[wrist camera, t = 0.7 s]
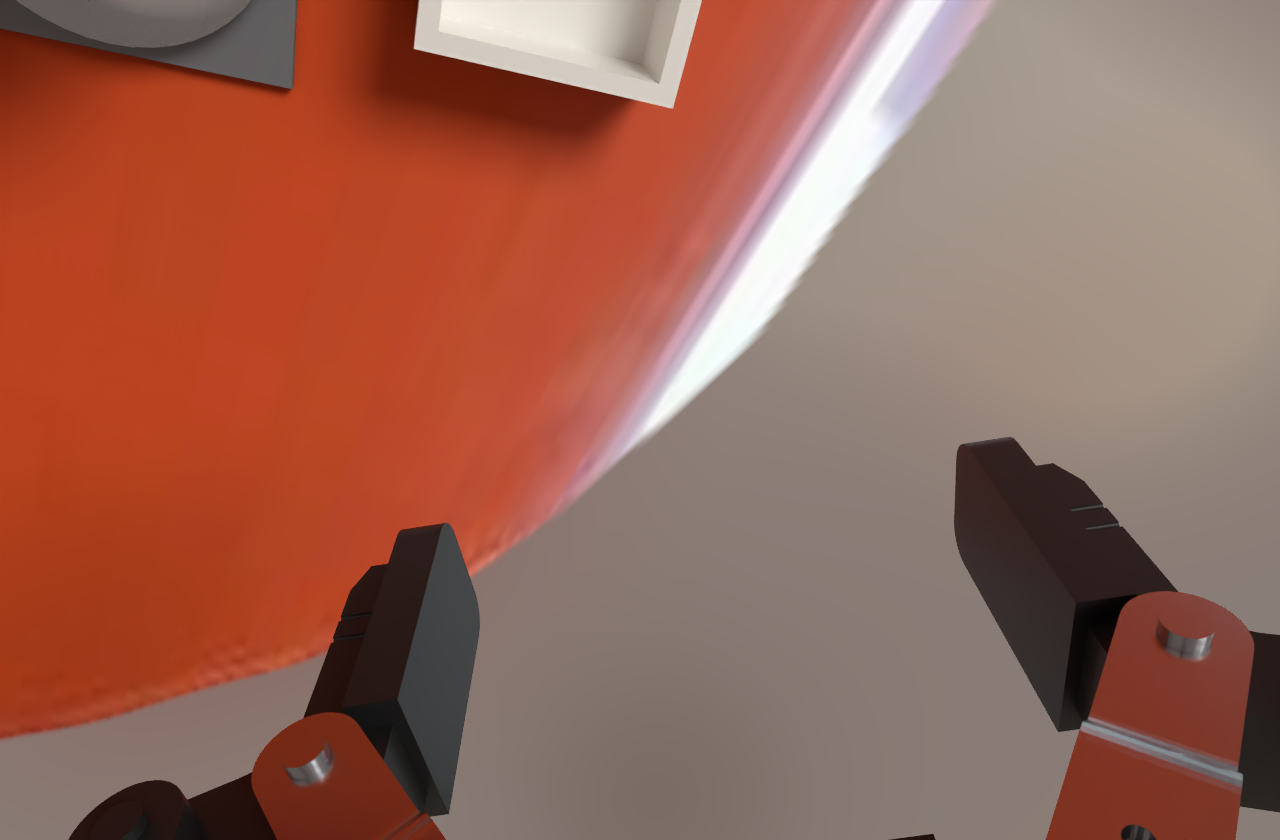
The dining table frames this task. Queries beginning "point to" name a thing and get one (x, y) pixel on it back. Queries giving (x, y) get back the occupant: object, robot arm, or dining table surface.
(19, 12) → the mat
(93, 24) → the lid
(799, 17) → the dining table surface
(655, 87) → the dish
